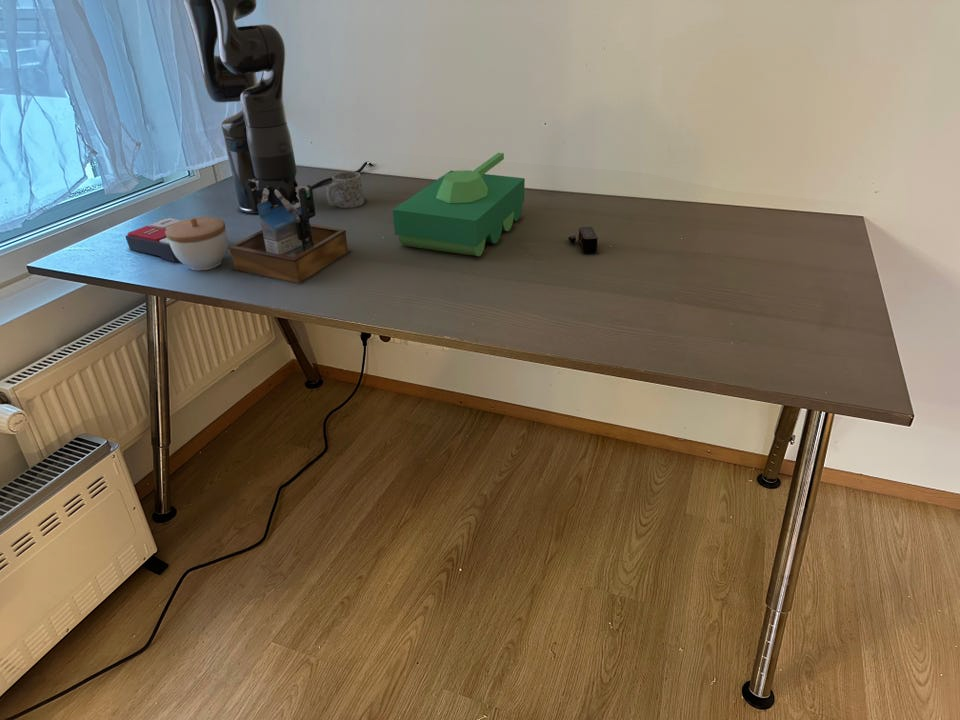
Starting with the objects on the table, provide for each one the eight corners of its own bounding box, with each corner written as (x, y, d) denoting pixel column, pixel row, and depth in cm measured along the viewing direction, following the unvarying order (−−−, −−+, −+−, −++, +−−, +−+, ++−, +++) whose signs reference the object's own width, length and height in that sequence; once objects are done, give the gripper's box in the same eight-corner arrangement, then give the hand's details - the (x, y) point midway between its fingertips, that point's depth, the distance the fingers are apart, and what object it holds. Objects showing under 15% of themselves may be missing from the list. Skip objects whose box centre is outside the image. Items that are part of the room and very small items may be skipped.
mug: (350, 196, 163) (346, 169, 159) (369, 201, 159) (366, 174, 156) (319, 208, 156) (315, 180, 152) (339, 213, 152) (335, 185, 149)
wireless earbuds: (590, 240, 135) (591, 225, 134) (597, 254, 129) (598, 238, 128) (567, 241, 135) (568, 226, 134) (573, 255, 129) (574, 239, 128)
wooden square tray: (287, 240, 139) (283, 219, 137) (349, 251, 133) (346, 229, 131) (233, 269, 127) (228, 246, 125) (299, 283, 122) (294, 259, 119)
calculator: (168, 215, 143) (214, 223, 136) (174, 234, 145) (220, 243, 138) (122, 232, 135) (169, 242, 128) (129, 252, 138) (176, 262, 131)
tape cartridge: (283, 270, 126) (270, 208, 120) (268, 266, 128) (255, 205, 122) (315, 254, 133) (305, 194, 126) (301, 250, 135) (291, 191, 128)
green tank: (536, 151, 148) (475, 201, 121) (535, 204, 155) (477, 263, 127) (464, 145, 154) (390, 190, 127) (465, 196, 160) (396, 250, 133)
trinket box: (244, 256, 133) (234, 211, 128) (210, 278, 124) (198, 231, 119) (199, 250, 136) (187, 206, 131) (164, 272, 127) (149, 225, 122)
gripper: (316, 148, 119) (329, 234, 128) (254, 141, 124) (271, 225, 133) (289, 158, 113) (305, 249, 122) (226, 151, 119) (245, 238, 128)
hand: (287, 236), depth 128 cm, fingers open, 7 cm apart
